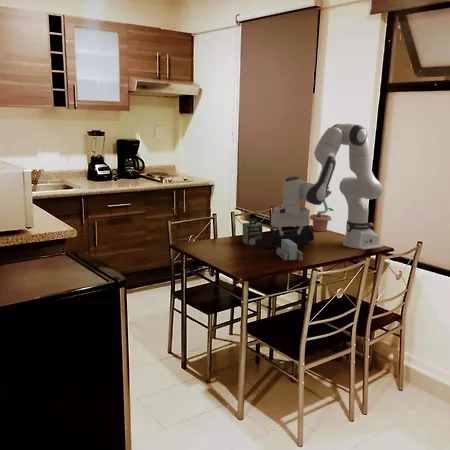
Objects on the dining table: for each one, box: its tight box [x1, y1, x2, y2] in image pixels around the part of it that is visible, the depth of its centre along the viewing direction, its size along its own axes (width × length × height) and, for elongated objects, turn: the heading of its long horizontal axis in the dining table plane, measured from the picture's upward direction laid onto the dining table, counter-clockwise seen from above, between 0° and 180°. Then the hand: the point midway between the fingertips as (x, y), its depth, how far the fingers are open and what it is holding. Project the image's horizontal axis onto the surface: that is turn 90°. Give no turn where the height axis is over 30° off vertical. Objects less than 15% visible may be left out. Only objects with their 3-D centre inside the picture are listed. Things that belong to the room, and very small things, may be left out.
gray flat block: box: [275, 247, 288, 261], centre depth 245 cm, size 2×12×4 cm, turn 14°
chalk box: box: [242, 218, 263, 246], centre depth 270 cm, size 9×9×15 cm
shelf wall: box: [297, 248, 304, 262], centre depth 247 cm, size 2×16×4 cm, turn 14°
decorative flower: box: [309, 186, 335, 232], centre depth 303 cm, size 15×14×30 cm
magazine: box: [266, 224, 315, 248], centre depth 266 cm, size 17×3×30 cm
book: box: [280, 239, 298, 261], centre depth 246 cm, size 4×12×8 cm, turn 14°
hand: (290, 234), depth 244 cm, fingers open, 8 cm apart
